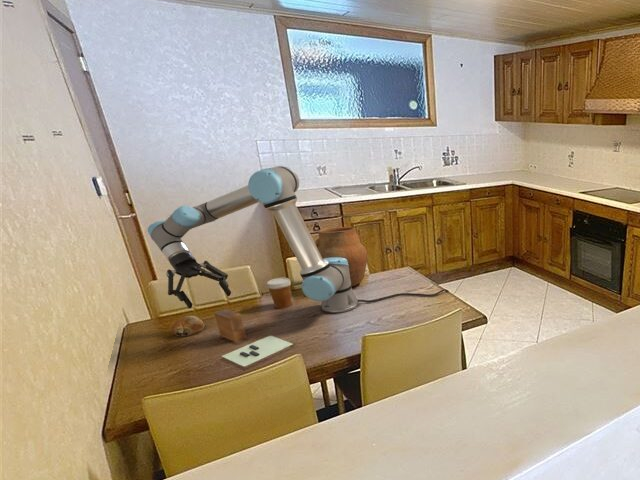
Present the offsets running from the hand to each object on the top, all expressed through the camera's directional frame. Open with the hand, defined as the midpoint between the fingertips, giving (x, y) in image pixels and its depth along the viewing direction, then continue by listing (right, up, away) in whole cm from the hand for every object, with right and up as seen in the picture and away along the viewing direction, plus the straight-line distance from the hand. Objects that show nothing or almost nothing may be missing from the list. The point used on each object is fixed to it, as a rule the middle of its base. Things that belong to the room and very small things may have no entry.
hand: (211, 300), depth 164 cm
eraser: (+8, -15, +1) cm, 17 cm away
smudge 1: (+21, -19, -12) cm, 31 cm away
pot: (+28, +5, +56) cm, 63 cm away
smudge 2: (+21, -17, -7) cm, 29 cm away
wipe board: (+24, -19, -8) cm, 31 cm away
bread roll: (-14, -13, +7) cm, 20 cm away
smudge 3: (+24, -19, -11) cm, 33 cm away
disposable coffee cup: (+10, -4, +31) cm, 33 cm away
